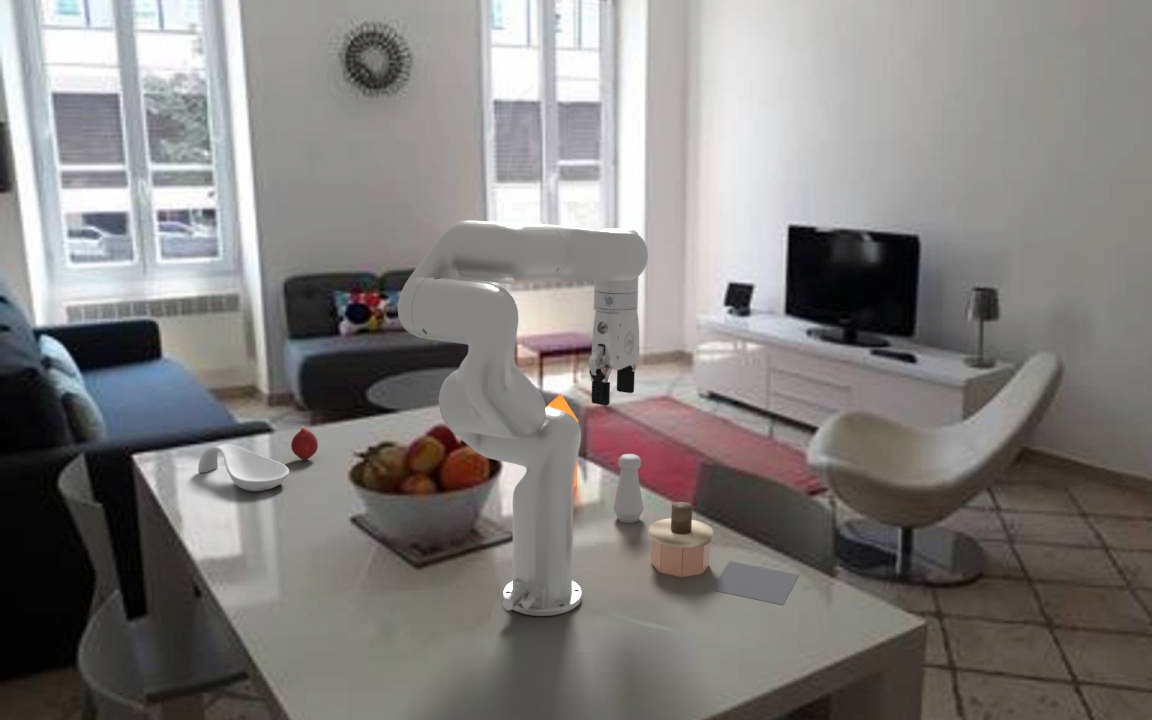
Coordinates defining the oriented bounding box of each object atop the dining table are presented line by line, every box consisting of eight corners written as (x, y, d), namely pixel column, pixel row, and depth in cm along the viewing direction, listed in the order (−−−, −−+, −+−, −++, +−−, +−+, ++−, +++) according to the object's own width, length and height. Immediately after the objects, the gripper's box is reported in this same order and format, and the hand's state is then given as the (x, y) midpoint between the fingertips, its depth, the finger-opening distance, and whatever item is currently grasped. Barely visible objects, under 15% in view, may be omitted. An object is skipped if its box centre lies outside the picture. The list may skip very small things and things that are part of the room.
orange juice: (577, 484, 202) (579, 394, 198) (566, 499, 194) (567, 405, 189) (543, 480, 204) (543, 391, 200) (530, 494, 196) (530, 402, 191)
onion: (323, 459, 216) (322, 425, 214) (304, 466, 211) (302, 431, 209) (306, 454, 219) (304, 421, 217) (286, 461, 214) (284, 427, 212)
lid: (701, 552, 154) (703, 522, 153) (639, 540, 159) (640, 511, 158) (721, 529, 164) (722, 500, 163) (661, 518, 169) (662, 490, 168)
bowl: (697, 583, 157) (698, 549, 156) (645, 572, 161) (646, 539, 159) (713, 561, 165) (715, 529, 164) (663, 551, 169) (664, 520, 168)
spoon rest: (301, 485, 200) (299, 452, 199) (256, 501, 190) (254, 468, 189) (228, 464, 212) (226, 433, 211) (182, 479, 203) (179, 447, 201)
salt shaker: (643, 514, 186) (645, 451, 183) (642, 525, 181) (644, 461, 178) (614, 512, 187) (615, 450, 184) (612, 524, 181) (614, 459, 178)
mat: (782, 608, 149) (782, 604, 149) (709, 592, 154) (709, 589, 154) (798, 578, 159) (799, 574, 159) (729, 564, 164) (730, 561, 164)
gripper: (612, 310, 152) (610, 412, 156) (656, 297, 167) (652, 390, 171) (572, 305, 156) (570, 405, 159) (618, 293, 170) (615, 385, 174)
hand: (613, 397), depth 165 cm, fingers open, 9 cm apart
